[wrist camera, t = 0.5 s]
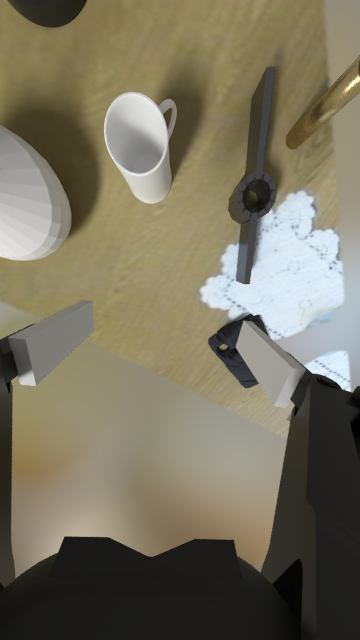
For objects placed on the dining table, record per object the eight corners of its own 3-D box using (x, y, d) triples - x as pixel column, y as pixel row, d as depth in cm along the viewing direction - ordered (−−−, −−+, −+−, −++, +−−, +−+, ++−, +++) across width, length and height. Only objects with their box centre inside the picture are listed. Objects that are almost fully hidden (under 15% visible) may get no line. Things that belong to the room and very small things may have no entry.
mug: (161, 119, 29) (153, 35, 18) (193, 165, 32) (203, 116, 20) (118, 175, 32) (87, 133, 21) (150, 213, 34) (138, 193, 23)
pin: (288, 127, 30) (385, 17, 16) (304, 127, 30) (416, 16, 16) (284, 149, 31) (373, 63, 17) (300, 149, 31) (402, 63, 17)
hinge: (235, 98, 28) (246, 67, 24) (275, 96, 29) (295, 66, 24) (223, 281, 40) (230, 284, 35) (252, 280, 40) (263, 283, 35)
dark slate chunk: (236, 388, 53) (242, 400, 48) (203, 335, 46) (207, 344, 41) (282, 366, 50) (293, 377, 46) (255, 307, 43) (264, 313, 39)
